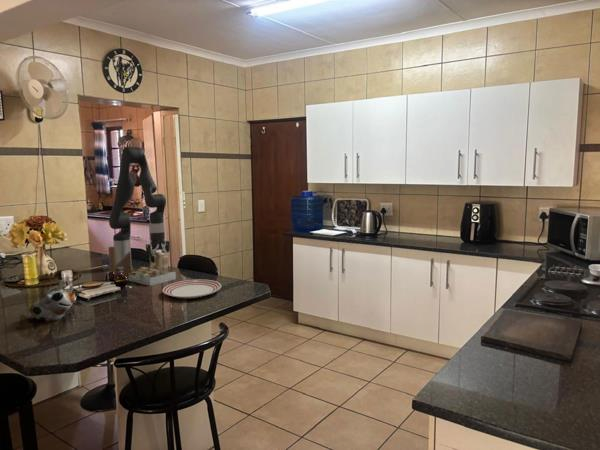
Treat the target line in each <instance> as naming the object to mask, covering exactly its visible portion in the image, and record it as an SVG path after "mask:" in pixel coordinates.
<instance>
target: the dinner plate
mask: <svg viewBox="0 0 600 450" xmlns="http://www.w3.org/2000/svg"><path fill="white" fill-rule="evenodd" d="M221 288H222V284H221V283H220V282H219V281H216V280H212V279H186V280H182V281H176V282H173V283H170V284H167V285H166V286H164V288H163V289H162V293H163V294H164V295H167V296H171V297H173V298H177V299H189V300H190V299H199V297H200V298H203V296H204V297H207V296H210V295H212V294H214V293H216V292H218V291H219V290H220V289H221Z"/></svg>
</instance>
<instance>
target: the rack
mask: <svg viewBox="0 0 600 450" xmlns="http://www.w3.org/2000/svg"><path fill="white" fill-rule="evenodd" d="M136 272H137V270H136V271H133V272H132V271H131V273H128V276H129V279H128V281H129V282H133V283H136V284H137V283H138V284H142V285H146V286H154V285H158V284H162V283H166V282H170V281H174V280H176V279H177V273H176V272H177V271H168V273H166V274H162V275H158V276H154V277H150V278H148V279H147V278H142V277H138V276H135V273H136Z"/></svg>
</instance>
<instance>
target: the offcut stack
mask: <svg viewBox="0 0 600 450" xmlns="http://www.w3.org/2000/svg"><path fill="white" fill-rule="evenodd" d="M136 271H137V272H136ZM136 271H135V272H136V273H135V276H138V277H142V278H147V279H148V278H150V277H154V276H158V275H160V271H159V270H157V269H152V268H150V267H146V266H140V267H139V268H137V269H136Z"/></svg>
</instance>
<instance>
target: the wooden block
mask: <svg viewBox="0 0 600 450" xmlns="http://www.w3.org/2000/svg"><path fill="white" fill-rule="evenodd" d="M108 259H109V260H108V261H109V273H110V272H114V273H122V274H124V275H125V276H126V277H127V280H129V276H128V273H132V267H131V265H132V255H131V256H130V252H128V253H127V254H126V255H125V256H124V258H123V259H122V260H121V261H120V262H119V263H118V264H117V260H116V247H114V246H109V247H108ZM122 266H123V269H122V271H118V269H117V267H122Z"/></svg>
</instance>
